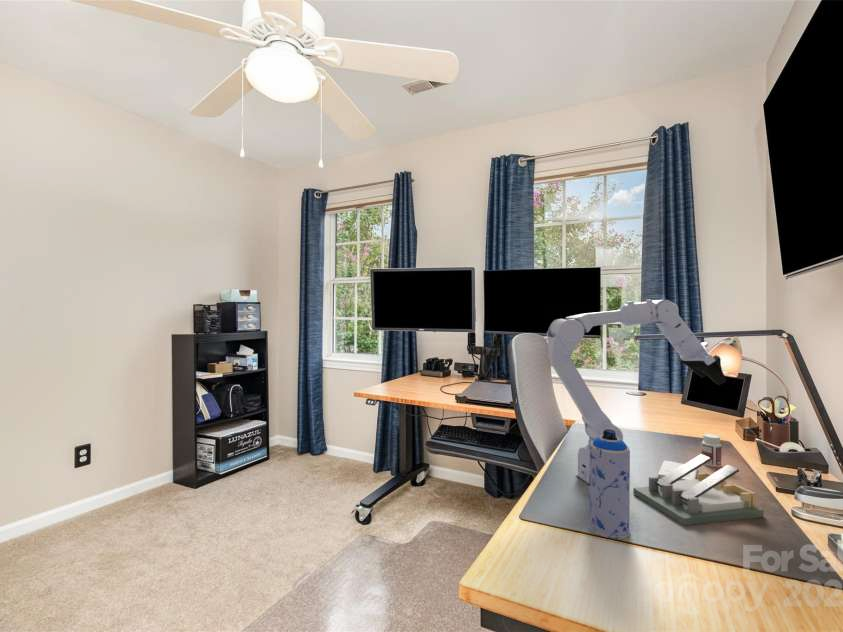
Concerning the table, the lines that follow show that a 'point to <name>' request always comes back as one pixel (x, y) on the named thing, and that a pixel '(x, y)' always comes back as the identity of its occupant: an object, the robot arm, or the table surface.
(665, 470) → the external hard drive
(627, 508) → the aerosol can
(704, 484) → the strap front
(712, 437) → the pill bottle
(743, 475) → the table surface
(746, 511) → the board
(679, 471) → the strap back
